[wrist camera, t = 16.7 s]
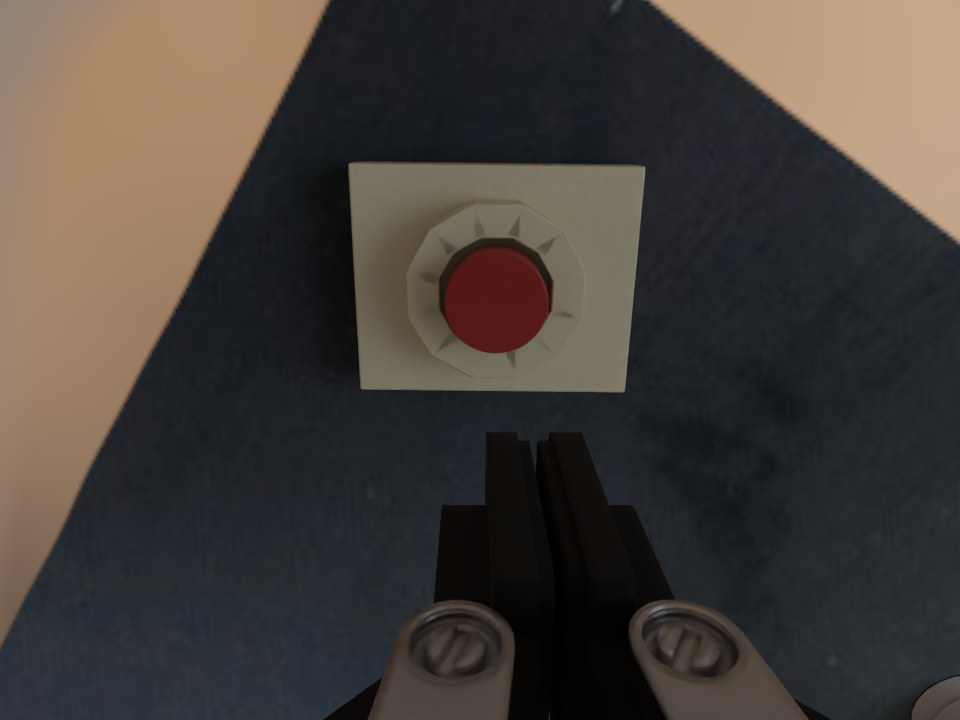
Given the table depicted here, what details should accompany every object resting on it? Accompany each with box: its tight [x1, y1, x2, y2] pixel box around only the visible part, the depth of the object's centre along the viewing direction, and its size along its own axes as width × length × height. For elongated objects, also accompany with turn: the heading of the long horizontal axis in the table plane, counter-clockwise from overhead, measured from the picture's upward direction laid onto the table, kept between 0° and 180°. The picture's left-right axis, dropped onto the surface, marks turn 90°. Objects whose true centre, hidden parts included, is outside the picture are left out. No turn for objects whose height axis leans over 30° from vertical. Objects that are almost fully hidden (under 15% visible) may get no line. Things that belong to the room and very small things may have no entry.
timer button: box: [444, 244, 549, 353], centre depth 22 cm, size 4×4×2 cm
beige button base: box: [348, 161, 645, 392], centre depth 25 cm, size 11×9×4 cm
